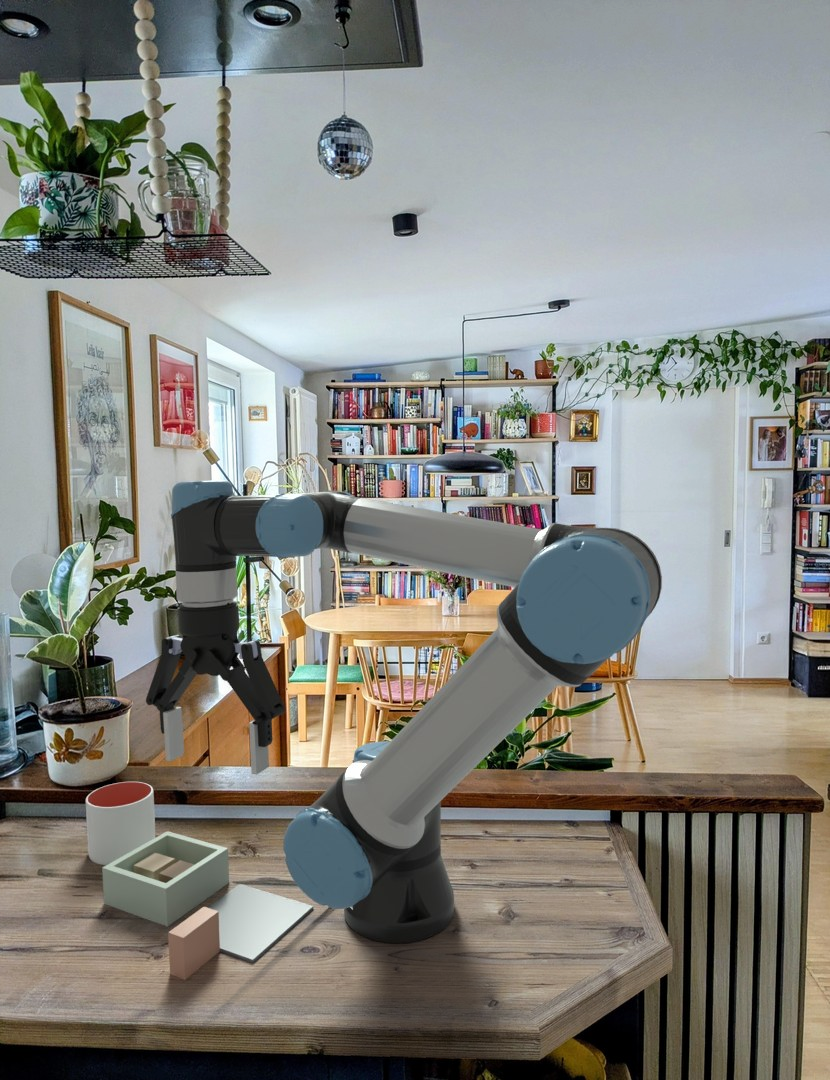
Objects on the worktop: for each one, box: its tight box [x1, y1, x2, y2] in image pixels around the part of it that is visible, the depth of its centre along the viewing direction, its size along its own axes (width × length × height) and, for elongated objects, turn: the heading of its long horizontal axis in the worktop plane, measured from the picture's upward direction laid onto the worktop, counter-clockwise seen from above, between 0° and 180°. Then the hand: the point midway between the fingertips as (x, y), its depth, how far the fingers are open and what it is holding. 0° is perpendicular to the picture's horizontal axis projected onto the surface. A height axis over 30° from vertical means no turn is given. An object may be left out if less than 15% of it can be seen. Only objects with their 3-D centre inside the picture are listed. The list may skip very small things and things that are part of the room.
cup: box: [85, 781, 156, 866], centre depth 120 cm, size 10×10×10 cm
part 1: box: [133, 853, 175, 881], centre depth 109 cm, size 4×4×4 cm
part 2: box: [159, 860, 194, 883], centre depth 107 cm, size 4×4×4 cm
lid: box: [167, 883, 314, 981], centre depth 98 cm, size 13×19×6 cm
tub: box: [101, 831, 230, 927], centre depth 108 cm, size 12×12×6 cm
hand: (216, 764), depth 98 cm, fingers open, 13 cm apart
